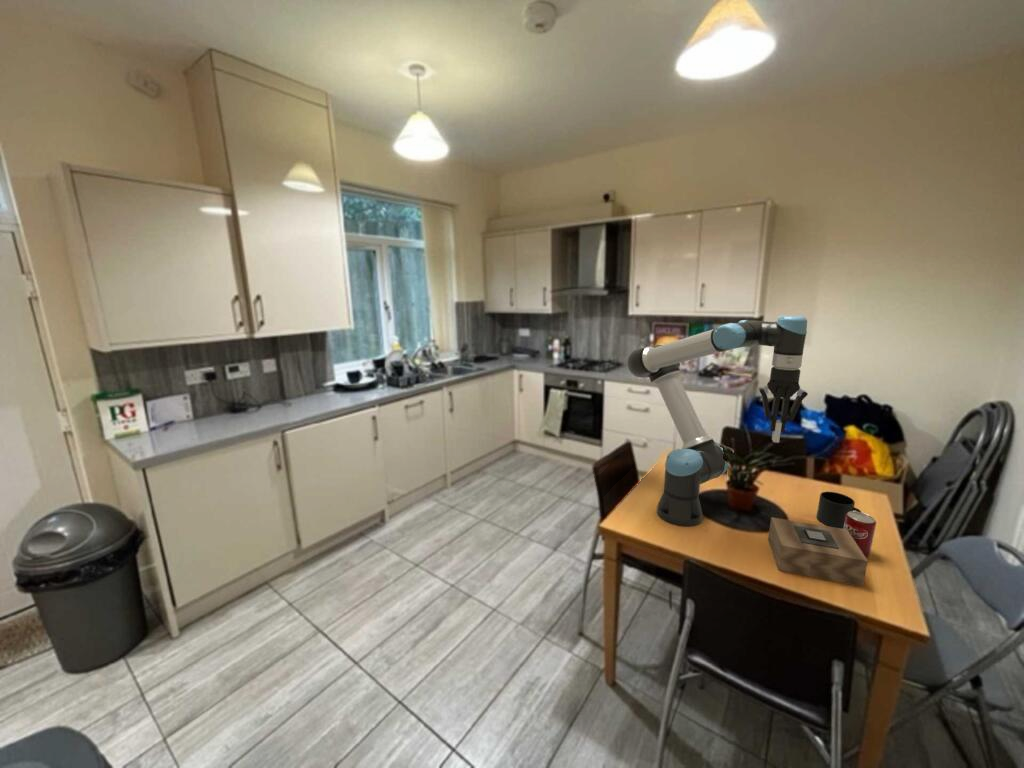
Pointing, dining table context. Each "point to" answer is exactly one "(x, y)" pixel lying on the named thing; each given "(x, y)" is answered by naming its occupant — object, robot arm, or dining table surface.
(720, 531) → the dining table surface
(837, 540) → the socket block
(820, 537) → the peg
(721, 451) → the robot arm
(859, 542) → the soda can
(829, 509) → the mug
